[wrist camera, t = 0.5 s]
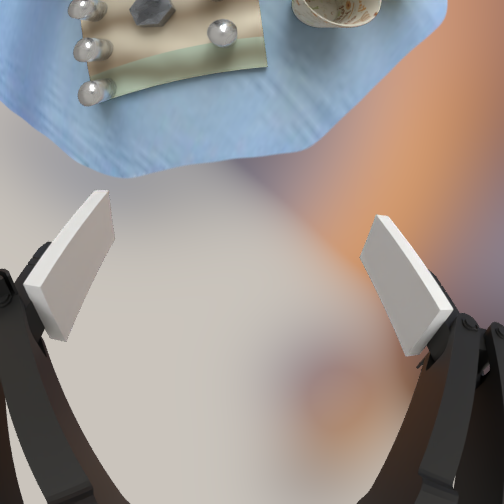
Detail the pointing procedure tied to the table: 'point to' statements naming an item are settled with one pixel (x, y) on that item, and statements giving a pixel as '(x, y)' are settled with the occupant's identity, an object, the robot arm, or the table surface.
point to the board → (175, 43)
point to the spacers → (96, 49)
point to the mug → (336, 12)
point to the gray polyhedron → (152, 12)
